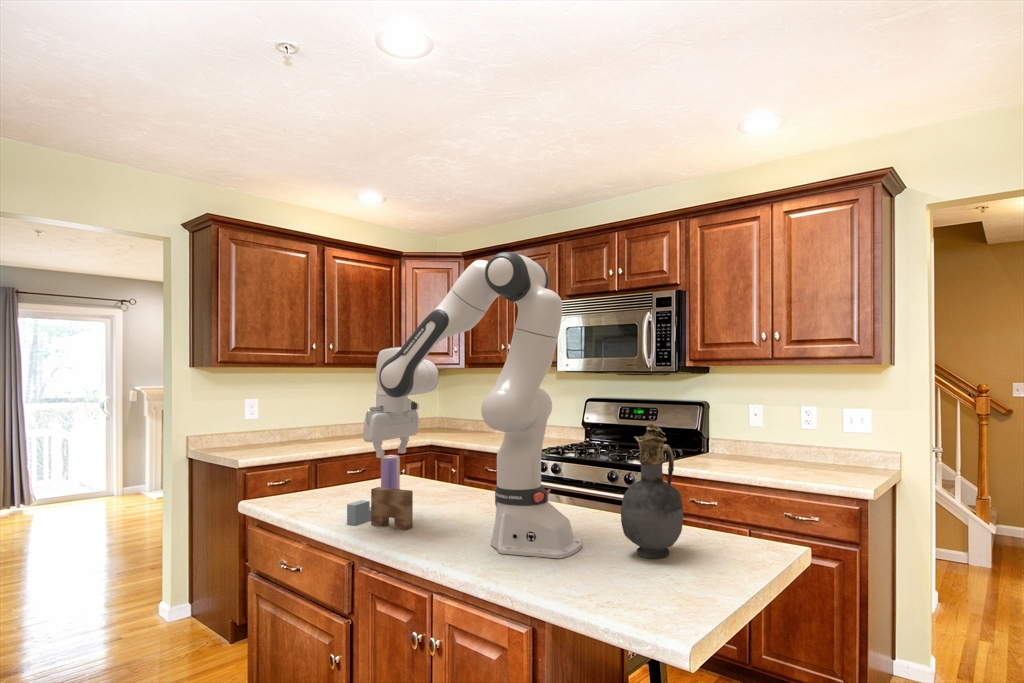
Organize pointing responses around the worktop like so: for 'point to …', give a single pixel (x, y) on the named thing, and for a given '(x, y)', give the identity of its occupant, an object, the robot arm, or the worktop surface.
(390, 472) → the beverage can
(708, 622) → the worktop surface
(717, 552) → the worktop surface
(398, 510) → the wooden bridge block
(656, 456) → the pitcher
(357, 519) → the notched grey block
